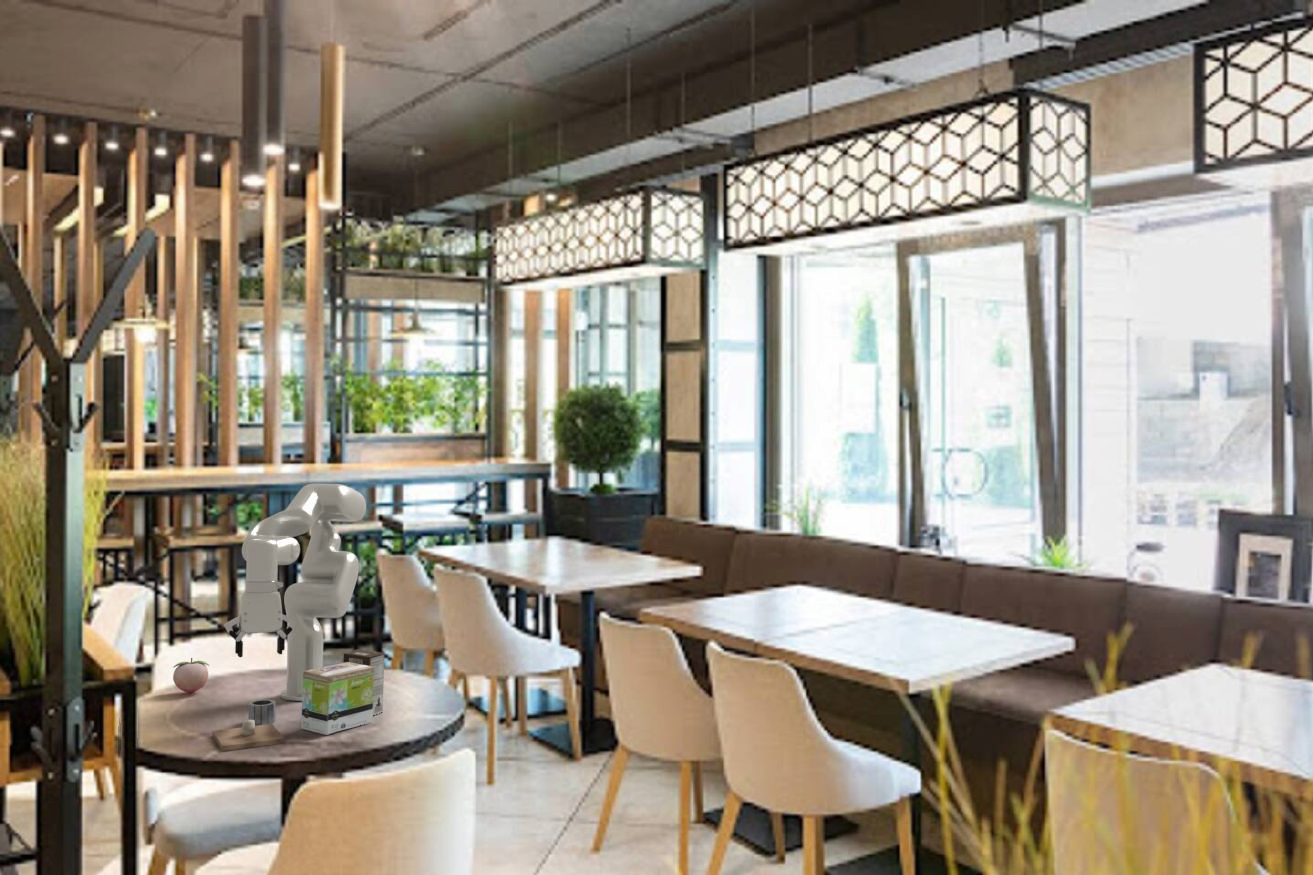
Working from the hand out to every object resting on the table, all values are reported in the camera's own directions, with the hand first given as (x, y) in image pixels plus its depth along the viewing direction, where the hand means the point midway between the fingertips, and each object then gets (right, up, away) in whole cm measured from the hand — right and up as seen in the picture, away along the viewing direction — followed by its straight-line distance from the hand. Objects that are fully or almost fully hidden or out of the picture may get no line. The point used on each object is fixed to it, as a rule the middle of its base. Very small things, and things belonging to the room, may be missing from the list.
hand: (260, 654), depth 282 cm
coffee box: (+23, -18, +11) cm, 31 cm away
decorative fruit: (-29, -16, +27) cm, 43 cm away
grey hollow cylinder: (0, -17, 0) cm, 17 cm away
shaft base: (+2, -18, -15) cm, 23 cm away
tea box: (+20, -18, -2) cm, 27 cm away
